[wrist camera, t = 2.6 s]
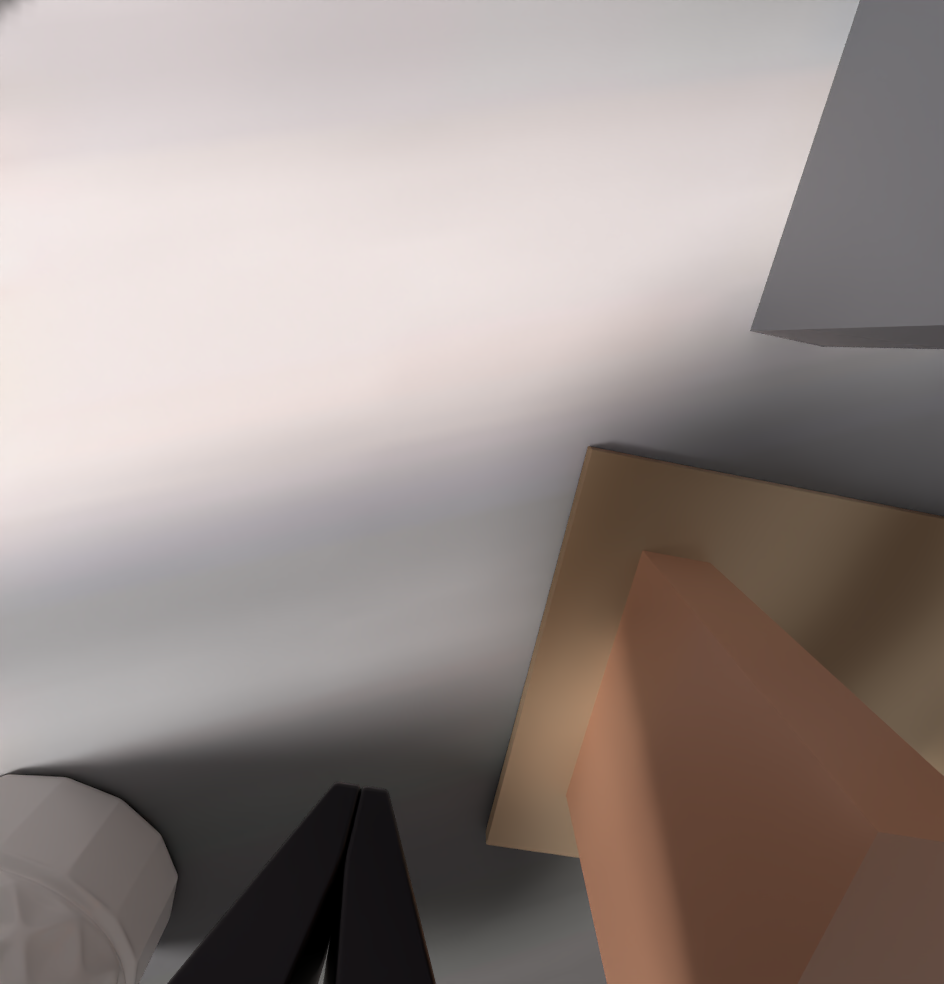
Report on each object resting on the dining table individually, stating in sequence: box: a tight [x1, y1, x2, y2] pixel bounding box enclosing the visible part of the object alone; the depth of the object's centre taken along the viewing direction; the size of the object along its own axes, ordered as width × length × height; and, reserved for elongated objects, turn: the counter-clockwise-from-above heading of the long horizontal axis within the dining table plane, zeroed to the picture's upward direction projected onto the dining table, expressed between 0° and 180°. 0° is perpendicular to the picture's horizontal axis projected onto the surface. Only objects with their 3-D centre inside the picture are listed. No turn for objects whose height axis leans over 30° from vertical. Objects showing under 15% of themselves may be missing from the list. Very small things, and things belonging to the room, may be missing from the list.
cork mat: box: [486, 446, 944, 858], centre depth 13 cm, size 13×11×1 cm
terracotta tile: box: [566, 550, 944, 984], centre depth 9 cm, size 2×7×7 cm, turn 168°
